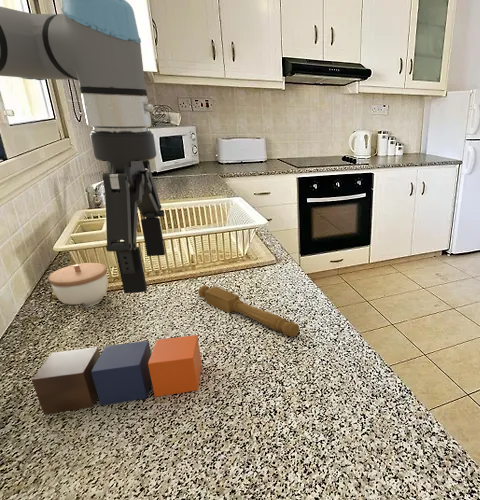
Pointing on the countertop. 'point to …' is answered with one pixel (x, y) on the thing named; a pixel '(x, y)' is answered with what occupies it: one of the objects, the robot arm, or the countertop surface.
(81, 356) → the walnut block
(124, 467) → the countertop surface
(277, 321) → the tap handle
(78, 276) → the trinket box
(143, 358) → the navy block
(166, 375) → the orange block
